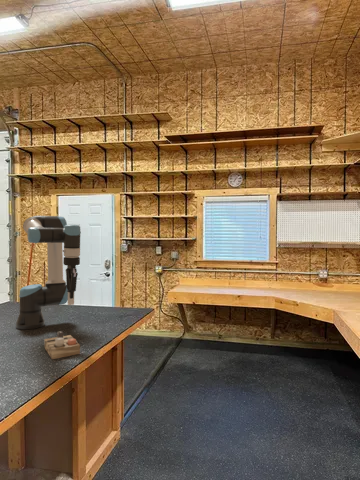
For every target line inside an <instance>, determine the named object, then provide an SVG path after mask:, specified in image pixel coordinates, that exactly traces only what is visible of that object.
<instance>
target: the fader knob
mask: <svg viewBox="0 0 360 480" xmlns="http://www.w3.org/2000/svg"><path fill="white" fill-rule="evenodd" d="M63 336H64V332H63V331H62V330H60V331H57V334H56V337H57V338H63Z"/></svg>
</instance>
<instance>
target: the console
mask: <svg viewBox="0 0 360 480" xmlns="http://www.w3.org/2000/svg"><path fill="white" fill-rule="evenodd" d="M56 338H57V336H55V337H48V338H44V345H43V346H44V349H45V350H46V352H47V354H48V355H49V357H50V359H51V360H57V359H61V358H65V357H70V356H75V355H80V354H81V344H80V343H78V341H77V340H76V344H75V345H70V346H68V340H69V339H75V338H74V337H73V336H72V335H71V334H68V335H63V338H64V346H63V347H55V339H56Z"/></svg>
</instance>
